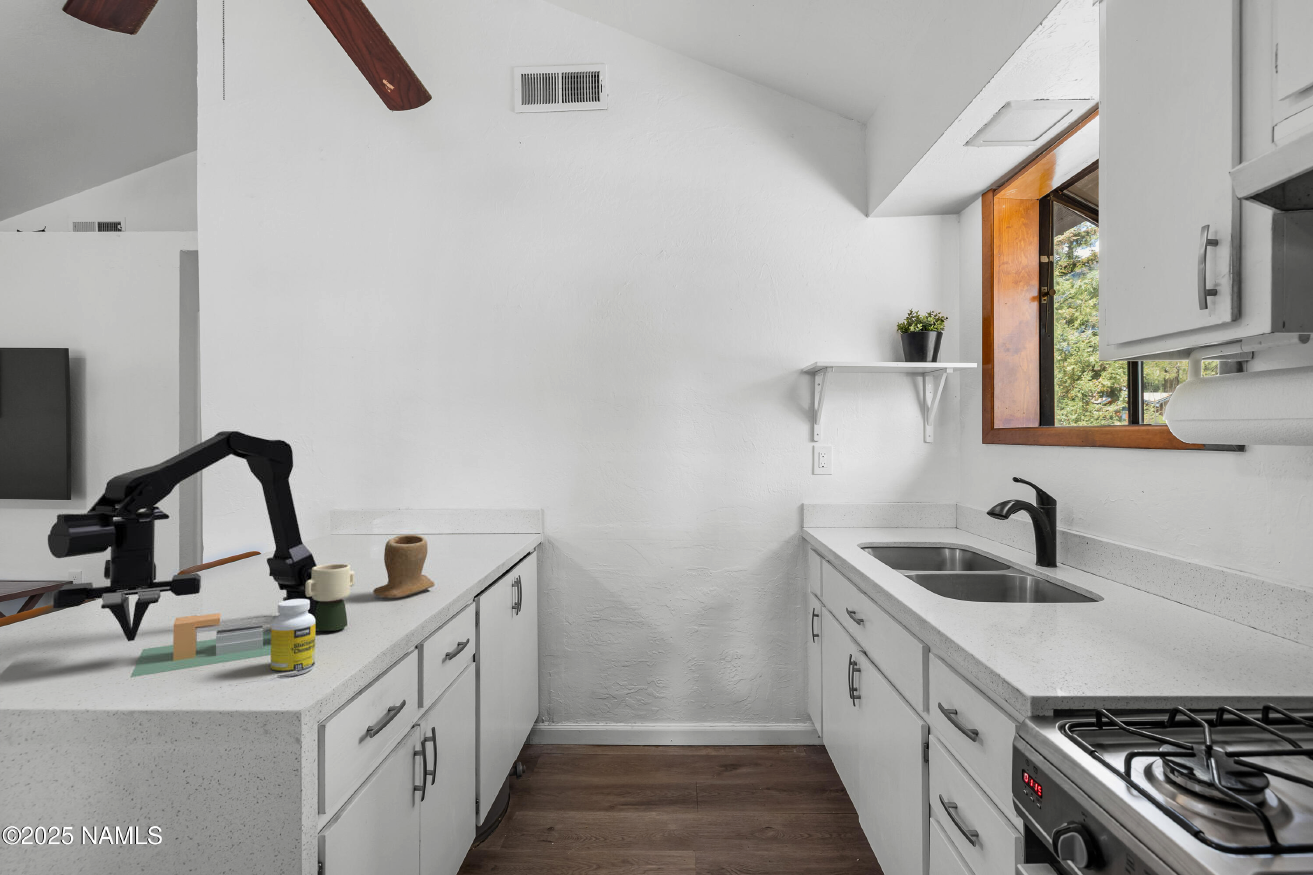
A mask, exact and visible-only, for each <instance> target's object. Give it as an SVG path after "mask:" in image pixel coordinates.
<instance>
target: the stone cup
mask: <svg viewBox="0 0 1313 875" xmlns="http://www.w3.org/2000/svg"><path fill="white" fill-rule="evenodd" d="M383 554H384V555H383V561H384V566H385V570H386V573H387V579H388V580H387V583H386V584H383V585H380V586H378V587H376V588H374V589H373V591H372V593H373V595H375V596H377V597H382V598H389V599H390V598H391V599H398V598H404V597H407V596H409V595H413V594H414V595H415V594H417V593H419V592H422V591H424V590H427V589H430V588H433V587H435V581H433V580H432V579H430V578H429V576H427V575H425V574H423V569H424V565H425V562H426V561H427V560H426V558H427V556H428V541H427V539H426V538H425V537H423V536H421V535H417V534H411V533H409V534H400V535H396V536H395V537H393V538H390V539H388V540H387V541H386V543H385V547H384V553H383Z"/></svg>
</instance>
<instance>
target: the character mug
mask: <svg viewBox="0 0 1313 875" xmlns="http://www.w3.org/2000/svg"><path fill="white" fill-rule="evenodd" d="M355 575H356V574H355V571H353V570H351V566H350V564H347V563H329V564H321V565H317V566H316V567H313V568H312V577H311V580H308V581H306V596H307V597H310V596H312V598H313V599H314V600H317V601H320V602H318V604H317V607H316V613H315V631H322V632H323V633H326V631H338V630H342V629H345V628H346V627H348V616H347V610H346V602H345V601H344V599H346V598H348V597H349V596H350V593H351V587H352V588H353V586H354V585H355Z"/></svg>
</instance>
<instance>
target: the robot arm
mask: <svg viewBox="0 0 1313 875" xmlns="http://www.w3.org/2000/svg"><path fill="white" fill-rule="evenodd" d="M230 455H232V456H234V457H236V458H239V459H242V460H243V459H244V460H246V464H247V465H248V467H249V470H250V473H252V475H253V476H254V477H255V478H256V479H257V480H258V482H259V484H261V487H262V491H263V497H264V501H265V505H266V510H267V514H268V519H269V523H270V528H271V531H272V537H273V540H274V545H275V550H274V553H273V555H272V556H271V557H268V558H266V564H267V566H268V568H269V573H268V574H269V577H272V578H273V580H274V582H276V583H277V586H278V589H279V590H280V591H285V597H284V596H283V597H282V601H286V600H292V599H308V600H309V601H310V607H309V610H308V613H309V614H311V615H313V616H314V618H315V613H316V607H317V604H318V602H320V601H317V600H314V599H313V598H312V596H310V597H307V596H306V581H308V580H311V577H312V568H313V567H316V566H318V565H317V563H316V561H315V558H314V556H313V554H312V552H311V551H310V549H308V547H307V546H306V545H305V544H304V543H303V540H302V536H301V531H300V527H299V522H298V516H297V513H296V507H295V503H294V498H293V494H292V489H291V485H290V477H291V473H292V470H293V468H294V454H293V448H292V446H291V445H290V443H288V442H287V441H285V440H283V439H266V438H262V437H258V436H253V435H249V434H246V433H243V432H241V431H239V430H237V431H236V430H231V431H230V430H223V431H219V432H217V433H216V434H214V435H213V436H212V437H209V438H208V439H206V440H204V441H202V442H200V443H198V444H196V445H194V446H192V447H190V448H188V449H186V450H184V451H182V452H180V453H177V454H176V455H175V456H174V455H173V456H172V457H170V458H168V459H167V460H164V461H163V462H160V463H157V464H154V465H150V466H147V467H142V468H138V469H135V470H132V471H128V472H124V473H122V474H118V475H115V476H113V477H112V478H111V479H109V480H108V481H107V482H106V486H105V489H104V492H103V493H102V495H101V496H100V497H99V498H98V499H97V500H96V501H95V502H94V503H93V505H92V506H91V507H90V508H89V510H88V511H87V512H84V513H83V512H82V513H60V514H59V513H58V514H57V515H56V522H54V524H53V525H52V526H51V528H50V532H49V534H48V535H47V545H48V549H49V551H50V554H51V555H52V556H53V557H54V558H56V559H64V558H71V557H79V556H86V555H94V554H100V553H101V554H102V553H104V552H106V551H107V550H108V549H109V548H110V559H106V560H105V562H104V571H103V577H104V579H105V580H109V585H108V586H107V585H105V586H95V587H94V585H93V582H92V581H91V582H84V583H71V584H65V585H63V586H62V587H61V588H59V589H58V590H57V591H55V593H54V595H53V600H52V601H53V602H52V603H53V604H52V606H53V607H52V609H64V608H74V607H75V608H76V607H80V606H81V605H83V604H84V602H86V601H87V600H95V599H101V601H102V604H101V605H100V608H101V609H104V610H106V609H108V610H109V612H111V614H112V615H113V616H114V618H115V619H116V621H117V622H118V624H119V626H120V628H121V630H122V632H123V634H124V636H125V638H126V640H127V642H133V641H135V639H136V637H137V634H138V632H139V630H140V629H139V628H140V626H141V625H142V621H143V618H144V616H145V614H146V612H147V611H148V609H149V607H150V605H152V604H157V603H159V600H160V598H161V596H162V595H161V593H163V592H165V593H166V592H171V593H172V594H173V595H175V596H176V597H179V596H190V595H191V596H192V595H196V594H200V591H201V587H202V581H201V580H202V577H201V575H200V574H199V573H197V572H194V573H184V574H183V573H182V574H174V575H173V576H172V578H171V580H162V581H161V580H160V581H159V580H158V581H156V580H157V565H156V561H155V532H156V530H155V529H156V528H155V527H156V521H162V520H168V519H170V515H169V514H168V513H166V512H164V511H163V510H161V509H160V507H159V506H156V505H157V504H158V503H160V502H161V501H163V500H164V499H165V498H166V497H167V496H169V495H170V494H172V492H173V490H174V489H175V488H176V486H178V484H180V483H181V482H182V481H184V480H186V479H188V478H191V477H192V476H194V475H196V474H197V473H200V472H201V471H203V470H206V468H208V467H210V466H212V465H214V464H217V463H218V462H220V461H221V460H224V459H226V458H227V457H228V456H230ZM115 518H116V519H115ZM135 595H137V599H136V601H135V603H134V609H133V617H132V620H131V613H130V612H131V611H130V596H135Z"/></svg>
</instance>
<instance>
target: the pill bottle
mask: <svg viewBox="0 0 1313 875" xmlns="http://www.w3.org/2000/svg"><path fill="white" fill-rule="evenodd" d="M309 607H310V601H309V600H308V599H292V600H286V601H283V600H282V601H281V602H278V603H277V613H279V614H278V615H279V617H278V618H276V619H275V620H274V621H273V622H272V625H270V631H271V655H270V670H271V671H272V672H274V673H286V674H279V675H278V677H281V678H287V677H294V676H299V675H303V674H305V673H308V672H310V671H311V670H313V669H314V667H315V665H316V630H315V618H314V616H313V615H311V614H309V613H308V610H309Z"/></svg>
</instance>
